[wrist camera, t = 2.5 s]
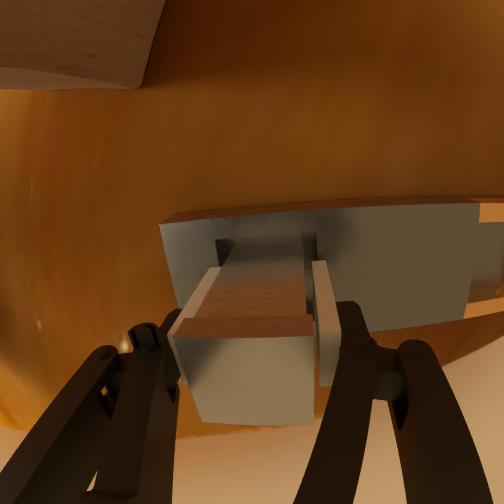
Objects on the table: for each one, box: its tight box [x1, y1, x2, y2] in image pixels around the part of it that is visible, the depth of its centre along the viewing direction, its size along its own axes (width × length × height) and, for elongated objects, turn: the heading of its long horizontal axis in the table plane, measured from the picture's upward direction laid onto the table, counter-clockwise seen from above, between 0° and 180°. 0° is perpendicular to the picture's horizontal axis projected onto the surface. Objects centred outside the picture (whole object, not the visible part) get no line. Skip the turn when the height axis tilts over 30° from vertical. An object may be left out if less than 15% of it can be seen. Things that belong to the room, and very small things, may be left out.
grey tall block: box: [173, 238, 314, 425], centre depth 14 cm, size 4×4×10 cm
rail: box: [159, 195, 504, 337], centre depth 17 cm, size 28×8×2 cm, turn 96°
